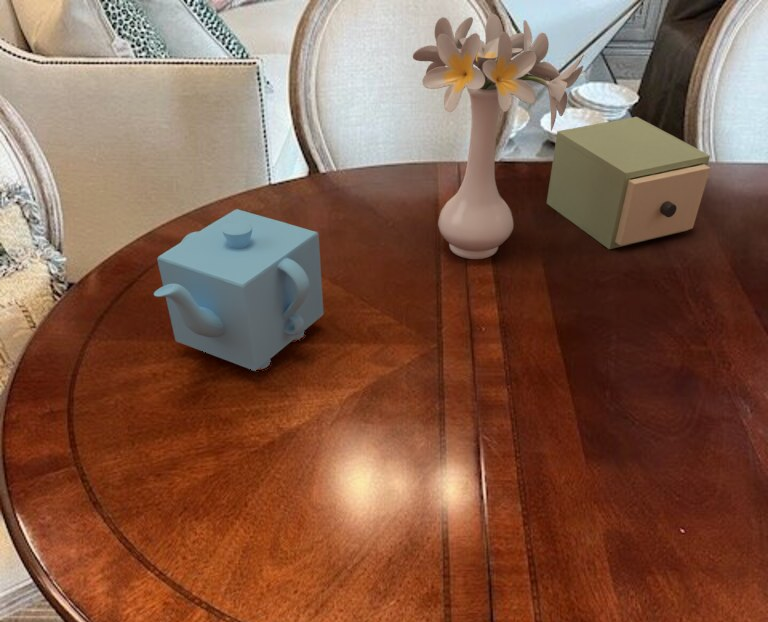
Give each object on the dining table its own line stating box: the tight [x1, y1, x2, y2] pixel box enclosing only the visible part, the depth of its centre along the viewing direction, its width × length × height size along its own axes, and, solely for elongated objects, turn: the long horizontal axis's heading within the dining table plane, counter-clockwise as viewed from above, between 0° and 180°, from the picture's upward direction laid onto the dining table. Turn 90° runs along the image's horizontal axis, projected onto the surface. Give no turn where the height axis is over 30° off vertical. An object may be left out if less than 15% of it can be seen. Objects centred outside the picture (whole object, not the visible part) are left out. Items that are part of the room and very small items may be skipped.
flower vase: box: [412, 13, 585, 260], centre depth 90 cm, size 13×18×25 cm
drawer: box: [615, 164, 711, 247], centre depth 100 cm, size 15×11×8 cm
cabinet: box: [546, 116, 711, 250], centre depth 102 cm, size 15×13×10 cm
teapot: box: [153, 208, 325, 372], centre depth 78 cm, size 18×16×13 cm
